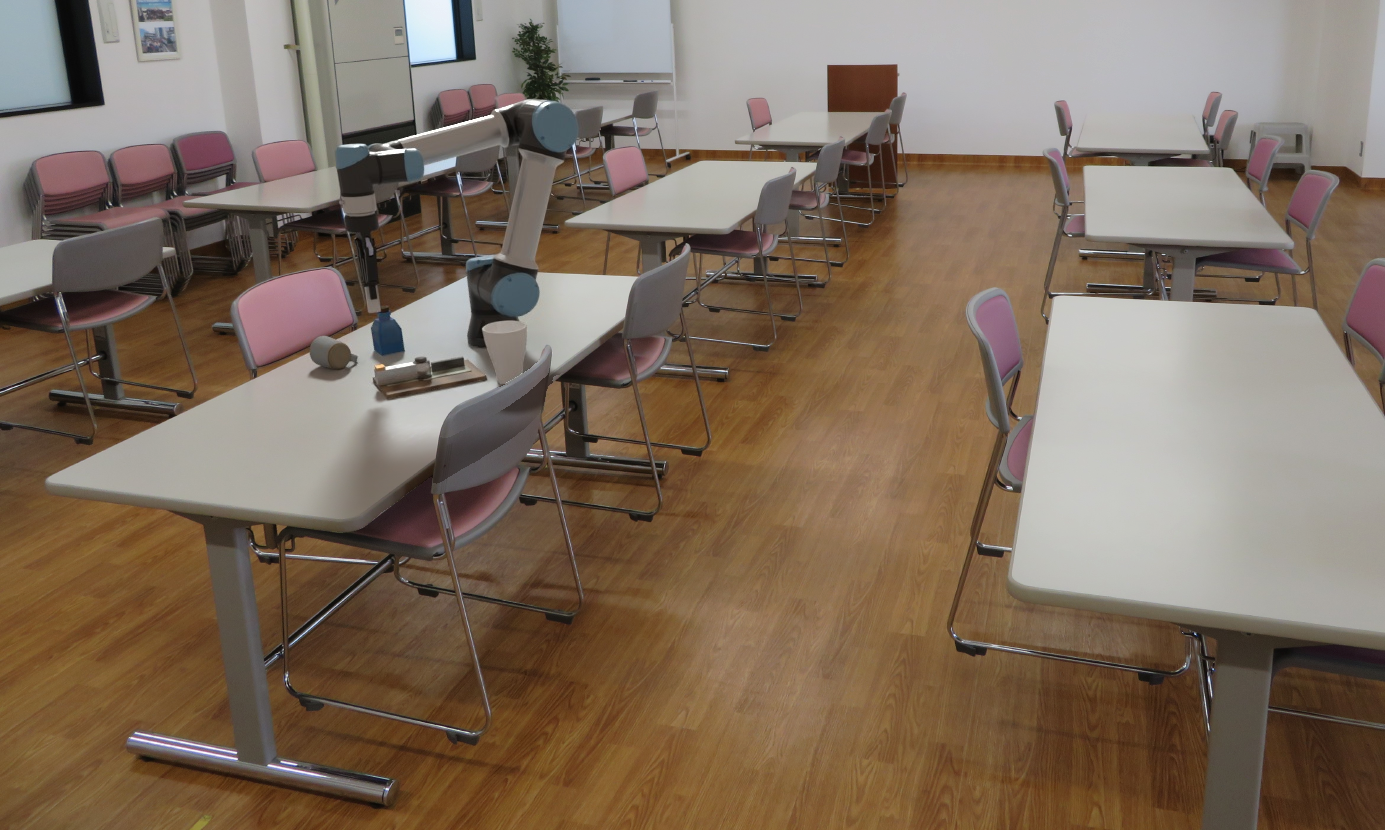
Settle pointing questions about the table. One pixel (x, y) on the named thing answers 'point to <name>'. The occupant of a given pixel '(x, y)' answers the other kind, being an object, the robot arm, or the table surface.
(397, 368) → the swing bar
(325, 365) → the ceramic mug
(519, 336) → the cup
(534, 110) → the robot arm
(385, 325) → the perfume bottle
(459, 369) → the lock board
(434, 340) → the table surface
